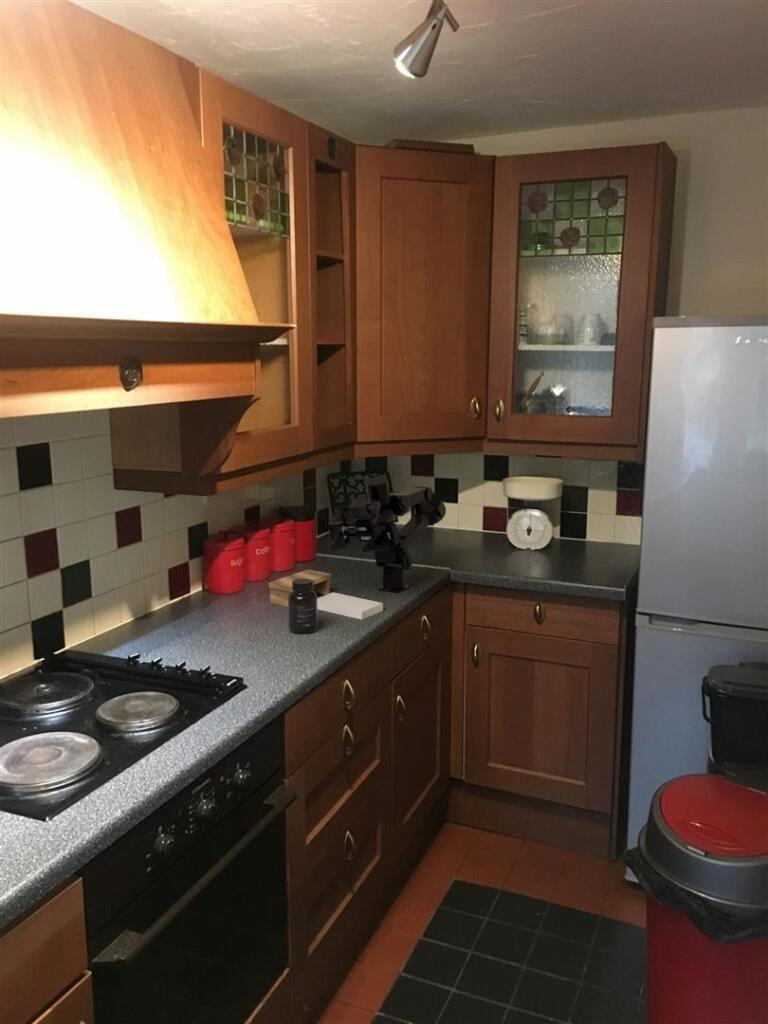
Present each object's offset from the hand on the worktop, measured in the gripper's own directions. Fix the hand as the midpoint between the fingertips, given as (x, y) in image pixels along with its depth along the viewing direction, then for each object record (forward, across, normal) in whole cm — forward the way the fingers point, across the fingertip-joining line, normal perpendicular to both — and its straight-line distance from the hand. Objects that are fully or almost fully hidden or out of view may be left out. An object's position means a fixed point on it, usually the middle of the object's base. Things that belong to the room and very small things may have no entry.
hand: (347, 549), depth 212 cm
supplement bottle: (+20, -4, +11) cm, 23 cm away
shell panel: (+1, -4, +17) cm, 18 cm away
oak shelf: (0, -19, +15) cm, 24 cm away
